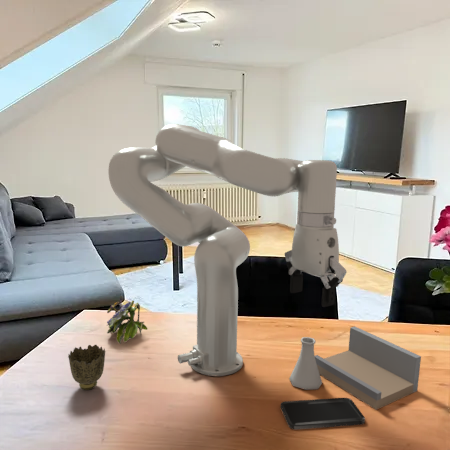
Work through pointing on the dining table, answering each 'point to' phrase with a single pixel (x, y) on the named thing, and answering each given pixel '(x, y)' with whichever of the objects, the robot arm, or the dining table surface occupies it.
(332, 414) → the phone
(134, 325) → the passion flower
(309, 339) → the flask
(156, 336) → the dining table surface
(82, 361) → the cup
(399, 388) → the wall shelf
